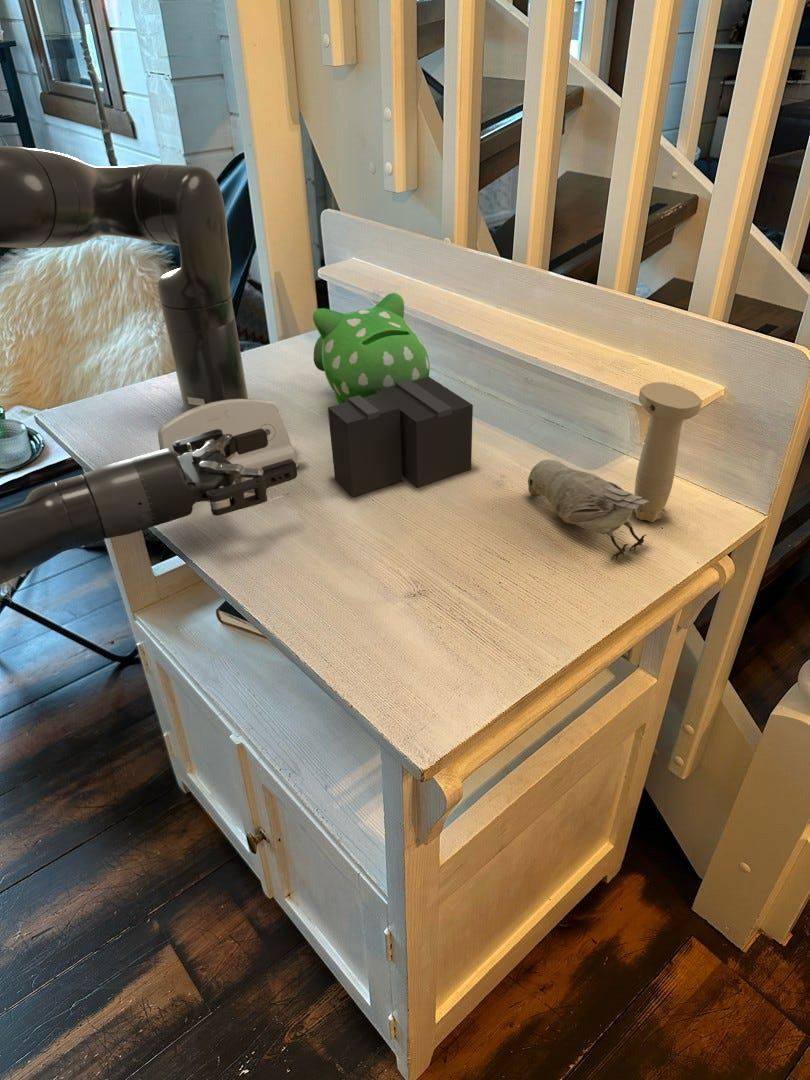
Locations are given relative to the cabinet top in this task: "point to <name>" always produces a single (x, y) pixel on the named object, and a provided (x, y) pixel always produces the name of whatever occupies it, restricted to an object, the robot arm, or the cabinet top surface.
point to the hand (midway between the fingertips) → (280, 451)
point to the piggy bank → (368, 349)
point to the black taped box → (432, 430)
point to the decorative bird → (585, 499)
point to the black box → (366, 443)
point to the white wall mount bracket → (234, 429)
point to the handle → (661, 444)
